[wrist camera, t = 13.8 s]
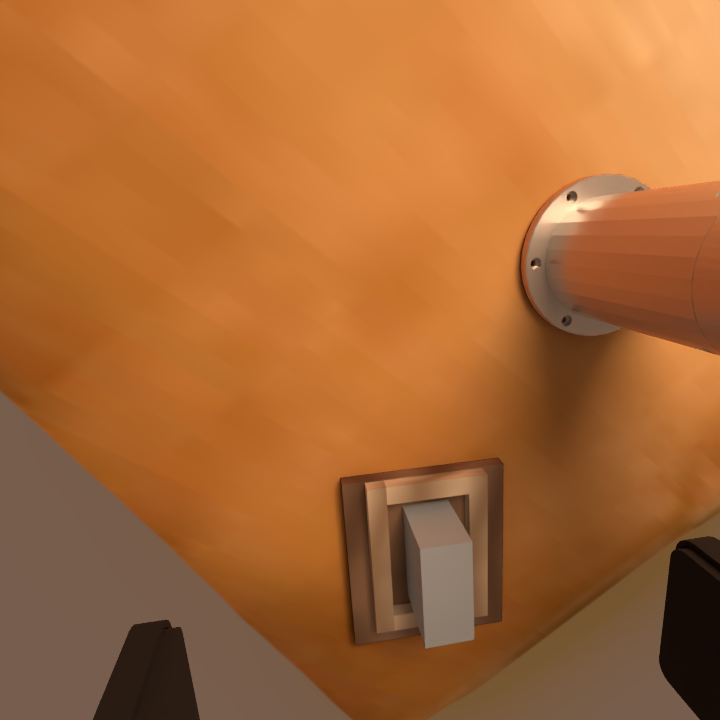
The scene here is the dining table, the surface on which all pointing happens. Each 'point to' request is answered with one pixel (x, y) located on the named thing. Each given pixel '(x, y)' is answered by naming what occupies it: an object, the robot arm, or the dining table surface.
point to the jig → (387, 544)
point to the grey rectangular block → (439, 573)
